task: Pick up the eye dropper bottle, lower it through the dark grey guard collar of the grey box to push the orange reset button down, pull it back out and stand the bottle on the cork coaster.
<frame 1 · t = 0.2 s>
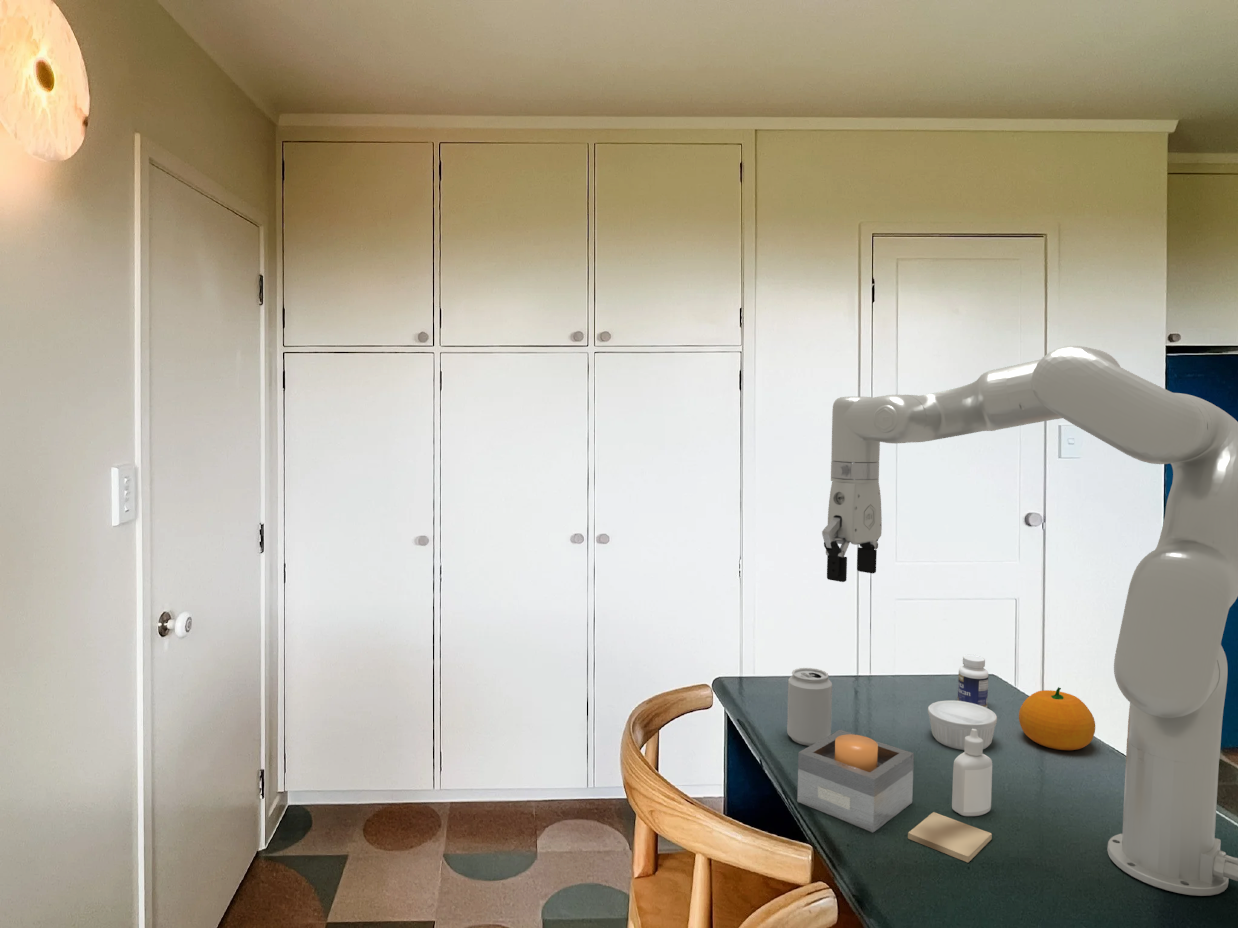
hand: (851, 576, 129), 31 cm above the table, fingers open, 9 cm apart
pill bottle: (972, 707, 155), on the table
ramekin: (960, 741, 139), on the table
eye dropper bottle: (971, 811, 114), on the table
grey box: (854, 802, 116), on the table
reset button: (855, 760, 116), point 6 cm above the table, slide at 0.0 cm
coaster: (949, 838, 106), on the table
fruit: (1055, 743, 138), on the table
can: (808, 740, 139), on the table
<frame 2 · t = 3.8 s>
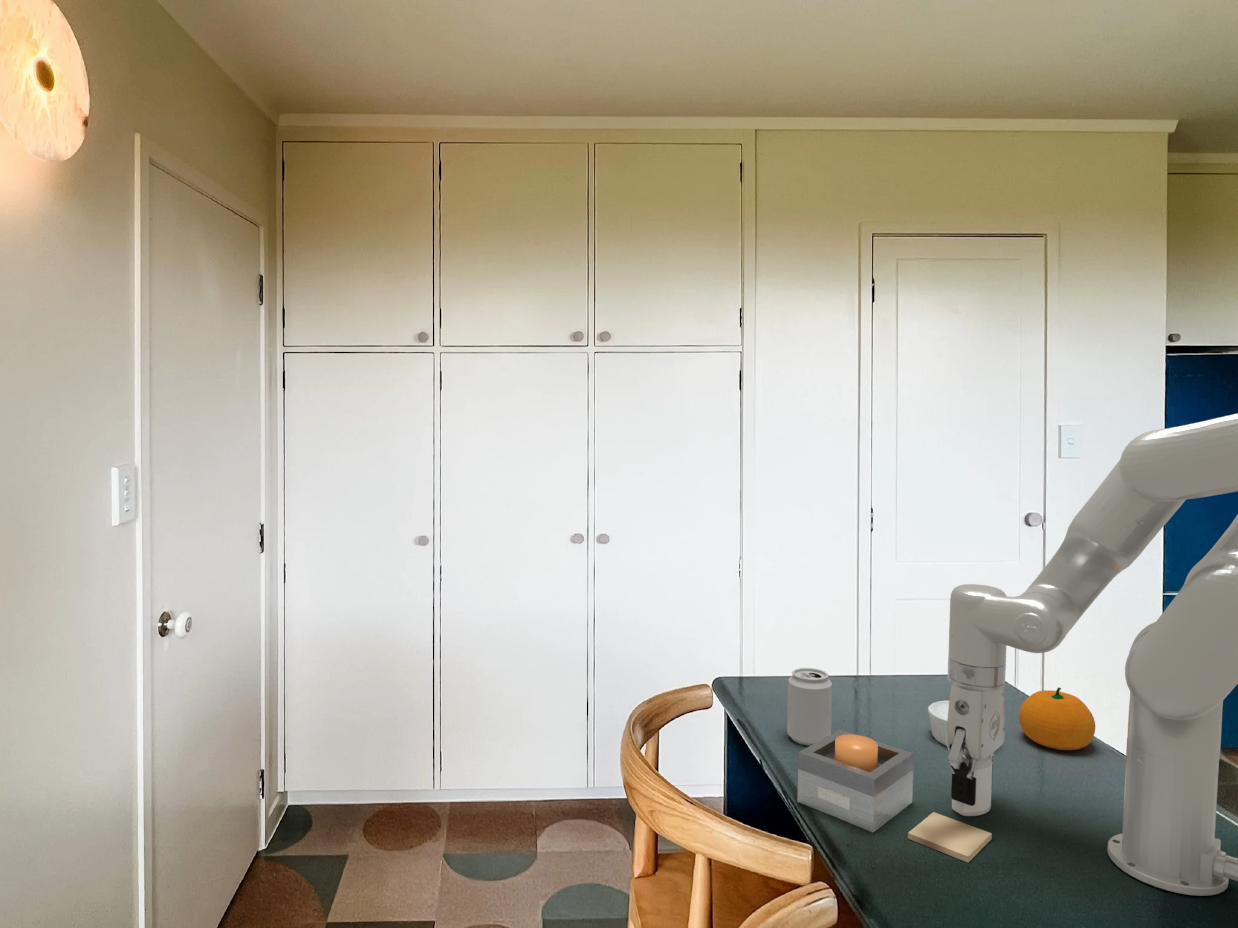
hand: (971, 793, 114), 2 cm above the table, fingers closed on eye dropper bottle, 5 cm apart
eye dropper bottle: (971, 811, 114), on the table, touching gripper
everything else where it was.
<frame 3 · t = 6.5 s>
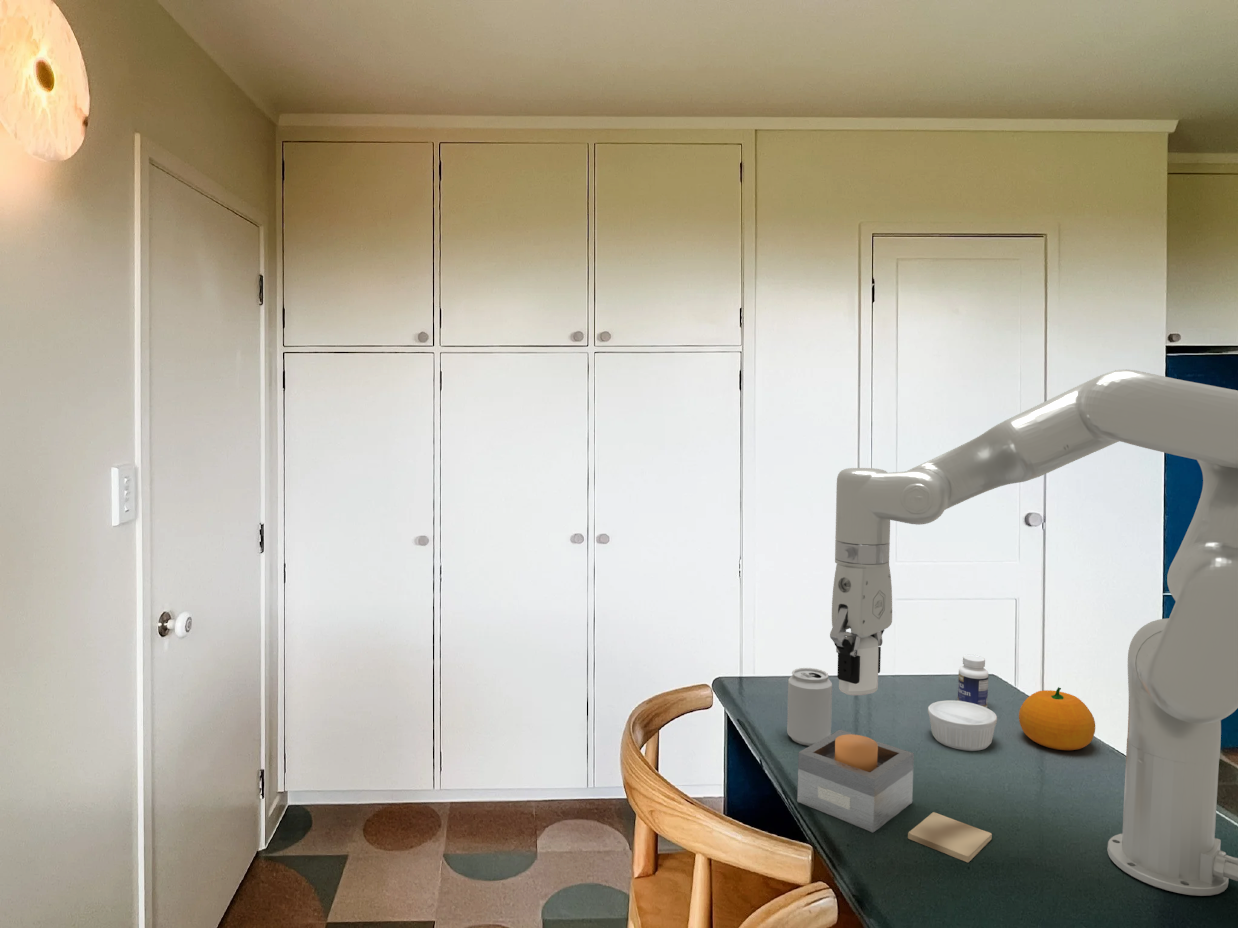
hand: (859, 675, 115), 19 cm above the table, fingers closed on eye dropper bottle, 5 cm apart
eye dropper bottle: (858, 692, 115), point 17 cm above the table, touching gripper
everything else where it was.
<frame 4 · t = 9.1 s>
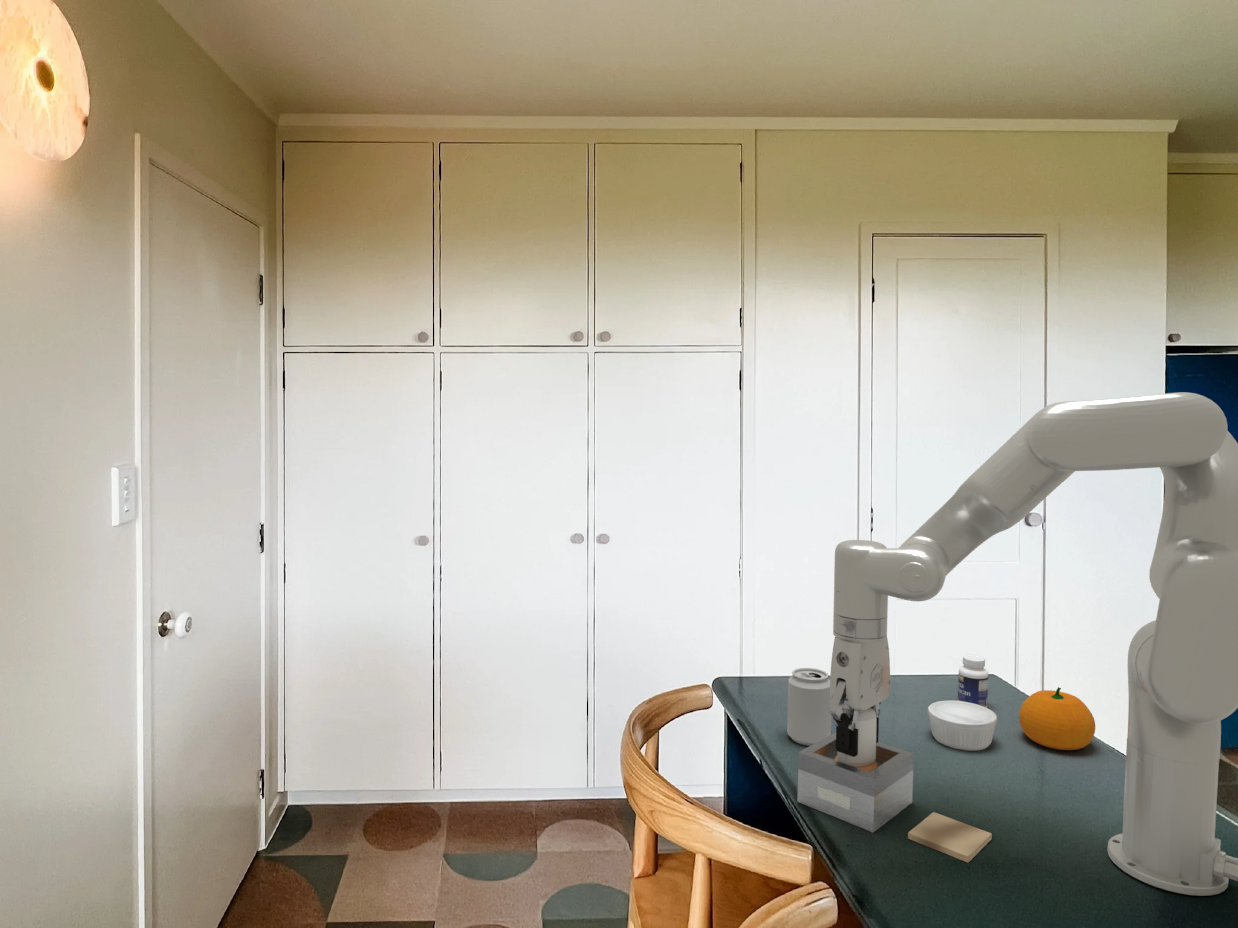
hand: (857, 745, 115), 9 cm above the table, fingers closed on eye dropper bottle, 5 cm apart
eye dropper bottle: (856, 763, 116), point 6 cm above the table, touching gripper, reset button
reset button: (855, 780, 116), point 3 cm above the table, slide at 2.9 cm, touching eye dropper bottle
everything else where it was.
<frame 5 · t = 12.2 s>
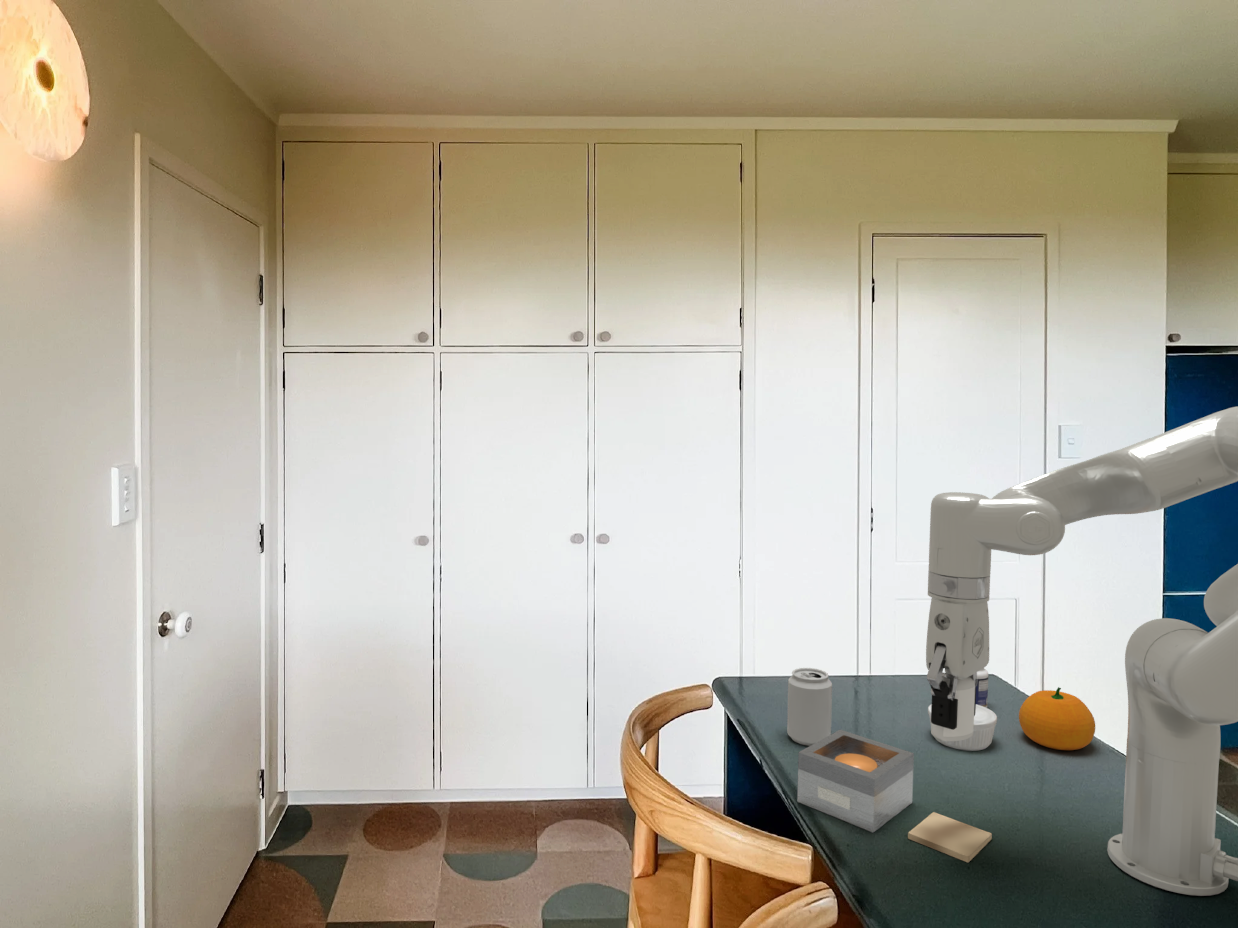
hand: (953, 718, 105), 17 cm above the table, fingers closed on eye dropper bottle, 5 cm apart
eye dropper bottle: (952, 737, 105), point 14 cm above the table, touching gripper
reset button: (855, 780, 116), point 3 cm above the table, slide at 2.9 cm
everything else where it was.
when the fingers open (4 cm above the table, at t = 15.2 s): eye dropper bottle stays where it is, resting on coaster.
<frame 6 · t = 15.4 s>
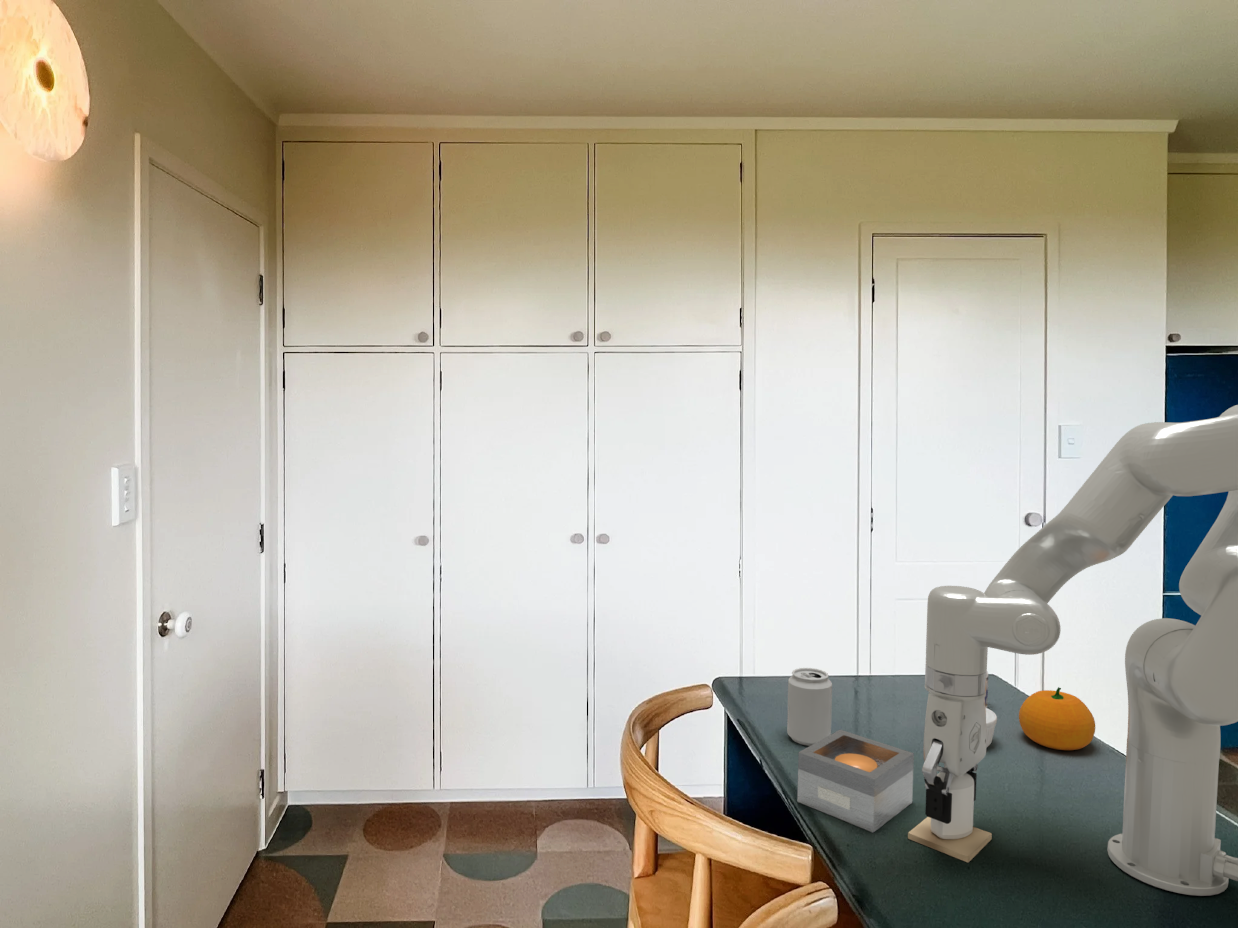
hand: (950, 807, 106), 4 cm above the table, fingers open, 7 cm apart
eye dropper bottle: (951, 834, 106), point 1 cm above the table, touching coaster
everything else where it was.
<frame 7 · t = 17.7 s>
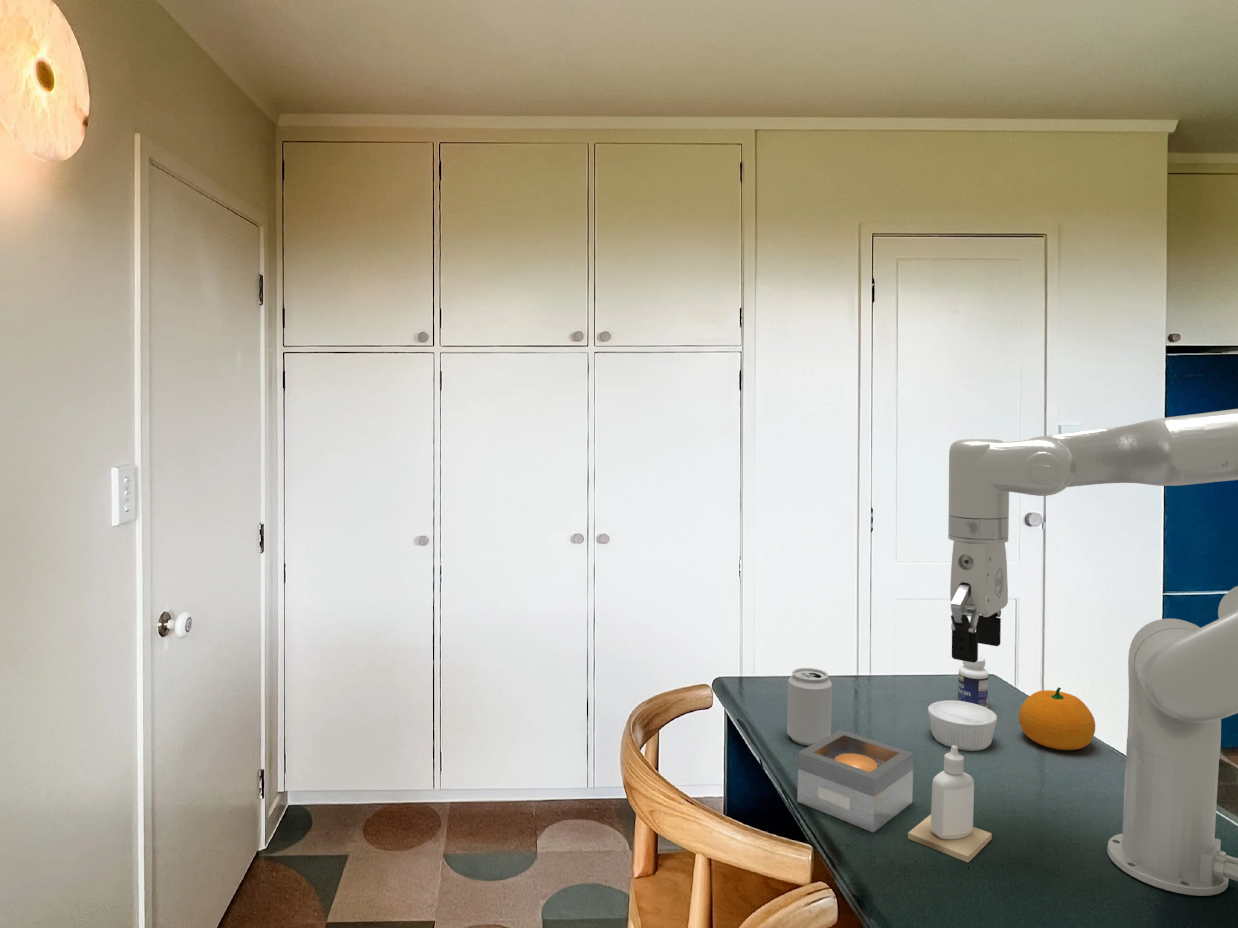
hand: (976, 652, 109), 24 cm above the table, fingers open, 9 cm apart
nothing on the table moved.
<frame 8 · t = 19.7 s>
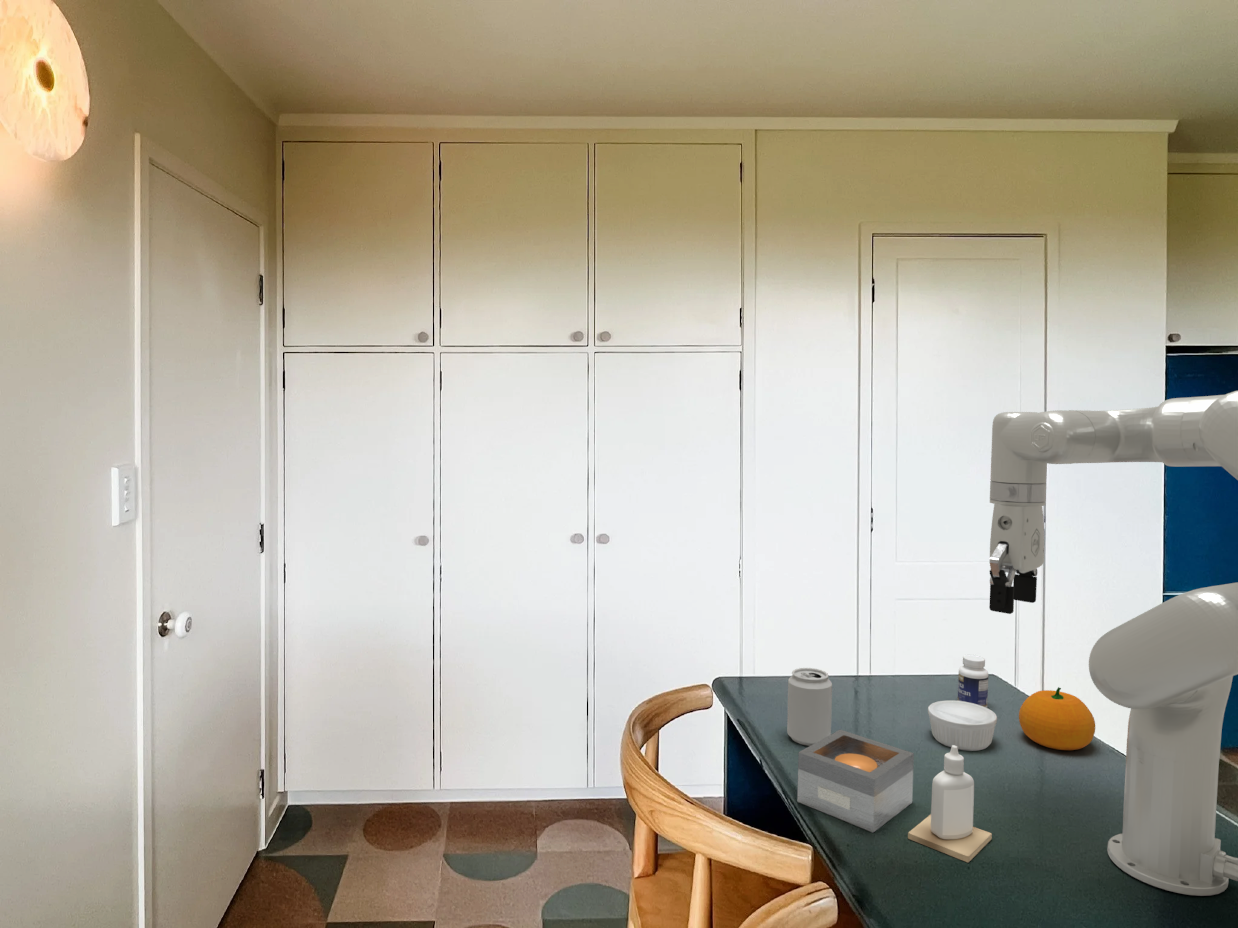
hand: (1013, 606, 119), 28 cm above the table, fingers open, 9 cm apart
nothing on the table moved.
at the end: reset button slide at 2.9 cm; eye dropper bottle 0.2 cm from the coaster (horizontally); eye dropper bottle tilted 0° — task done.
